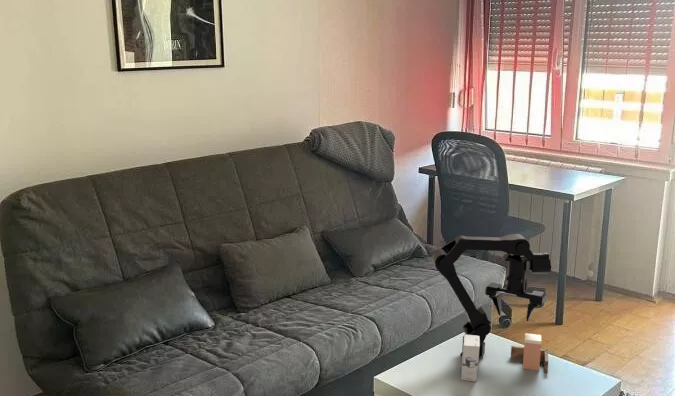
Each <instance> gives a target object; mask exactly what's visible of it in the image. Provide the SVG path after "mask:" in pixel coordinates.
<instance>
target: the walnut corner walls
mask: <svg viewBox="0 0 675 396" xmlns="http://www.w3.org/2000/svg"><path fill="white" fill-rule="evenodd" d="M523 355H524V346H517V345H511V347H510V358H511V359H515V358H517V359H516V360H523ZM540 363H543V372H544V373H545V374H548V373H549V351H548V349H544V348H541V354H540Z"/></svg>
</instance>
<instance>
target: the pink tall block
mask: <svg viewBox="0 0 675 396" xmlns="http://www.w3.org/2000/svg"><path fill="white" fill-rule="evenodd" d="M523 347H524V355H523V359H522V369H524V370H531V371H540V367H541V366H540V365H541V362H540V354H541V349H542V334H534V333H526V332H525V333H524V344H523Z"/></svg>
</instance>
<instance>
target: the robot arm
mask: <svg viewBox="0 0 675 396" xmlns="http://www.w3.org/2000/svg"><path fill="white" fill-rule="evenodd" d="M466 251H485V252H486V251H487V252H488V251H494V252H503V253H505V254H503V255H502V259H503V260H504V261H505V262H508V263H507V276H506V288H505V287H503V285H502V283H497V282H490V283H489V284H487V286H486V287H485V291H484V294H485V296H488V298H489V299H491V301H492V303H493V304H494V307H495V308H496V311H497V314H498V316H501V315H502V312H503V311H502V298H503V295H507V296H512V297H517V298H522V299H527V300H529V302H528V305H527V310H526V311H527V313H526V317H525V319H526V322H529V320H530V318H531V316H532V313H533V312H534V309H535V308H538V307H539V306H542V305H544V303H545V302H546V300H547V294H546V293H545V291H539V290H536V289H535V290H533V291H532V292H527V291H528V289H529V286H530V279H528V278H527V271H529V273H530V274H550V273H551V271H552V263H551V259H550V253H548V252H546V251H545V252H544V251H543V252H532V250H531V245H530V242H529V241H528V240H527V239H526V238H525V237H524V236H523V235H522V234H520V233H513V234H512V233H511V234H506V235H502V236H499V237H497V236H496V237H495V236H492V237H491V236H465V235H458V236H456V237H454V239H453V240H452V241H449V242H448V243H446V244H444V245H443V246H441V248H438V249H436V250H435V251H433V253H432V255H431V262H432V263H433V265H434V267H435V268H436V270H437V271H438V272H439V273H440V274H441V275H442V277H443V278H445V280H447V282H448V284H449V286H450V287H451V289H452V290H453V292H454V294H455V295H456V298H457V300H458V301H459V303H460V304H461V307H463V309H464V311H465V314H466V317H467V320H468V321H467V322H466V323H464V325H463V326H462V331H463V333H464V334H465V335H477V336H480V348H479V360H480V359H482V357H483V356H484V355H485V351H486V342H485V339H486V337H487V336H488V335H489V334H490V332H491V330H492V325H491V324H492V322H491V320H490V319H489V317H488V315H487V313H486V312H485V309H484V308H483V307H482V306H480V307H477V306H476V305H475V304H474V301H473V300H472V298H471V296H470V295H469V293H468V291H467V290H466V288H465V286H464V284H463V282H462V281H461V280H460V278H459V276H458V273H457V269H456V267H455V262H457V261H458V260H459V259H460V258H461V256H462V255H463V254H464V253H465V252H466ZM463 343H464V335H463V336H462V344H463ZM461 348H462V349H461V352H460V356H461V357H462V355H463V345H462V347H461Z"/></svg>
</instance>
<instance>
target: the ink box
mask: <svg viewBox="0 0 675 396" xmlns="http://www.w3.org/2000/svg"><path fill="white" fill-rule="evenodd" d="M463 336H464V343H463V342H462V346H463V355H462V356H461V357H462V358H461V372H460V373H461V376H460V377H461V380H462V381H467V382H468V381H469V382H477V381H478V379H477V377H478V370H479V369H478V368H479V361H480V359H479V348H480V336H477V335H465V333H464V334H463Z"/></svg>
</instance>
